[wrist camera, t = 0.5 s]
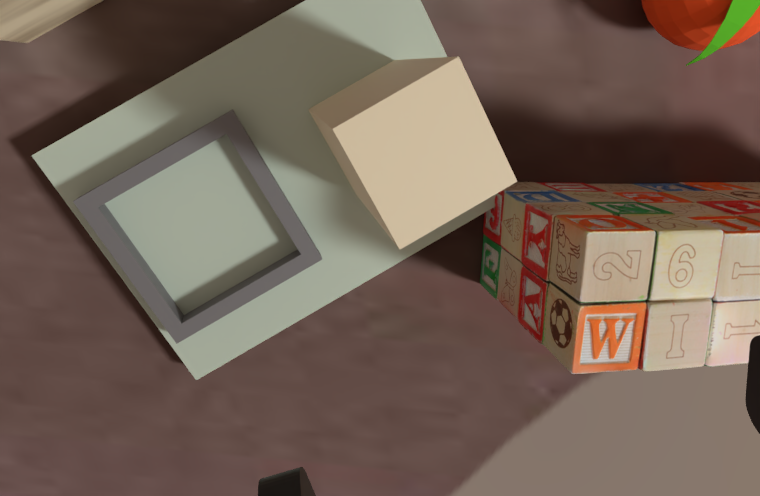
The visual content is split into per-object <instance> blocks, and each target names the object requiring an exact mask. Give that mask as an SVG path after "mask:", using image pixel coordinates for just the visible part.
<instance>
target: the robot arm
mask: <svg viewBox="0 0 760 496" xmlns="http://www.w3.org/2000/svg"><path fill="white" fill-rule="evenodd" d="M746 407H747V411H748V414H749V416H750V419H751V421H752V423H753V425H754V426H755V428H756V429H757V431H758V432H759V433H760V335H758V336H755V337H754V338H753V339H752V340H751V343H750V349H749V362H748V376H747V388H746ZM258 496H316V495H315V493H314V490H313V488H312V486H311V483H310V481H309V479H308V476H307V474H306V472H305V470H304V468H303V467H300V468H296V469H293V470H290V471H286V472H283V473H279V474H276V475H272V476H269V477H266V478H262V479H260V481H259V485H258Z"/></svg>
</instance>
